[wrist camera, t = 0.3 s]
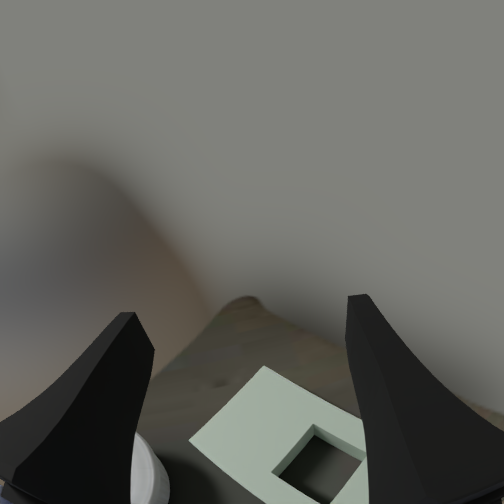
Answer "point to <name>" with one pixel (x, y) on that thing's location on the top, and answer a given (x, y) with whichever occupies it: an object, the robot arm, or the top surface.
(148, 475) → the ramekin
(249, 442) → the socket block
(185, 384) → the top surface
